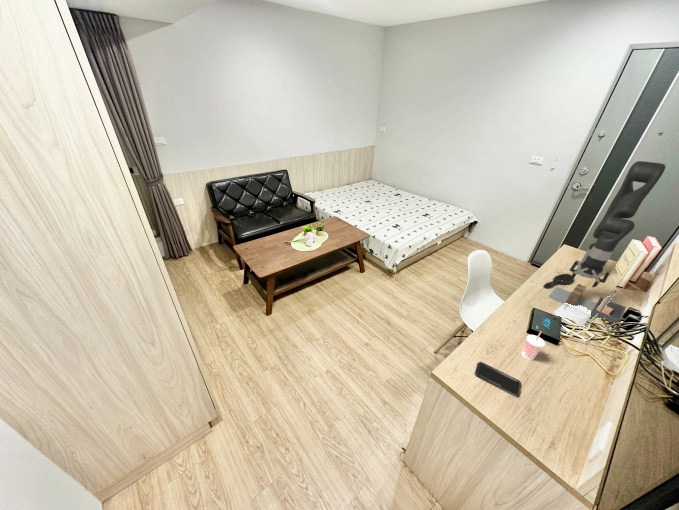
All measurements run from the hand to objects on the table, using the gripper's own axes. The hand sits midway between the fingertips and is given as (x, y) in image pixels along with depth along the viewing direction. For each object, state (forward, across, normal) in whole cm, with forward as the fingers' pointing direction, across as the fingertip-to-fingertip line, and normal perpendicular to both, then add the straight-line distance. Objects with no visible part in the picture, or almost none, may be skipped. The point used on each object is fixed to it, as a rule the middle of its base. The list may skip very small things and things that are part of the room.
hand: (582, 282), depth 136 cm
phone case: (+13, -6, +25) cm, 29 cm away
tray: (+12, -14, 0) cm, 19 cm away
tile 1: (+12, -13, -3) cm, 18 cm away
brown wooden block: (+10, 0, 0) cm, 10 cm away
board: (+12, 0, 0) cm, 12 cm away
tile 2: (+11, -12, +4) cm, 17 cm away
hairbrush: (+13, +10, -14) cm, 22 cm away
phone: (+12, +4, +82) cm, 83 cm away
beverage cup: (+12, +1, +60) cm, 62 cm away
